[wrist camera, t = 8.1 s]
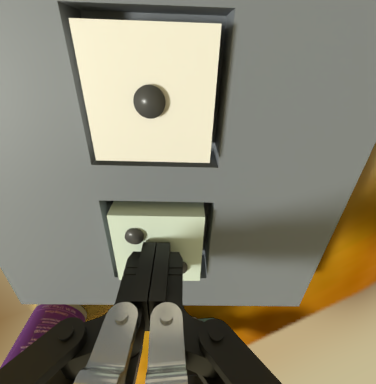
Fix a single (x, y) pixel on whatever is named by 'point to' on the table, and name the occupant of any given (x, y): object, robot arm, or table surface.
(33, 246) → the button board
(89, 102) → the tile one pip
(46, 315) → the container
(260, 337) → the table surface
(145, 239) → the tile two pips
